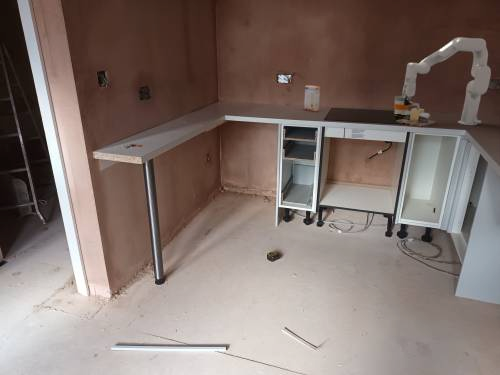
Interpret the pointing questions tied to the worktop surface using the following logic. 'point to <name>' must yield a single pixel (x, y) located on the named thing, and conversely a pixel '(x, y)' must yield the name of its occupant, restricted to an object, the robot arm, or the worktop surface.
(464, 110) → the robot arm
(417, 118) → the ball valve
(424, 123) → the valve board
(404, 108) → the reusable coffee cup
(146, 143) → the worktop surface
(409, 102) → the valve lever
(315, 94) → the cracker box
